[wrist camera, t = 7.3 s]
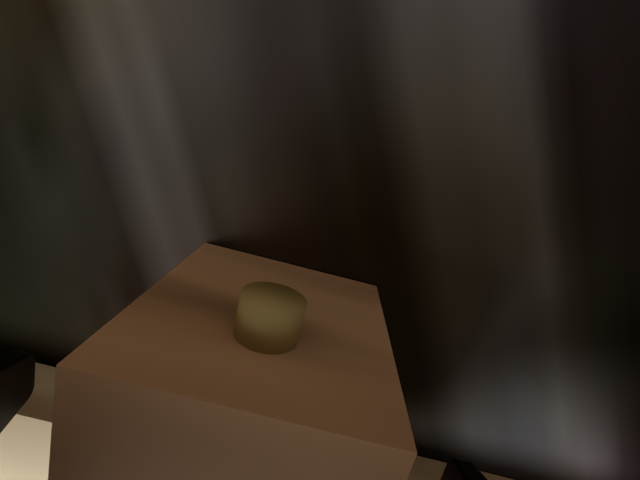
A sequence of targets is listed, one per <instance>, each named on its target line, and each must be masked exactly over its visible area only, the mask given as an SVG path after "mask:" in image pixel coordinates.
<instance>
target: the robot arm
mask: <svg viewBox="0 0 640 480" xmlns="http://www.w3.org/2000/svg"><path fill="white" fill-rule="evenodd" d="M35 365H36V358H35V356H34V355H33V354H31V353H28V352H24V351H20V350H9V351H5V352H2V353H0V433H1V432H2V431H3V430H4V429H5V427H6V426H7V425H8V424H9V422H10V421H11V420H12V419H13V418H14V416H15V415H16V414H17V413H18V411H19V410H20V409H21V408H22V407H23V405H24V404H25V403H26V402H27V400H28V399H29V398H30V396H31V394H32V392H33V389H34V383H35ZM440 480H488V479H487V478H486V477H485V476H484V475H483V474H482V473H481V472H480V471H479V470H478V468H477V467H476V466H475V465H474V464H473V463H472V462H470V461H468V460H464V459H460V458H456V457H452V458H450V459H449V461H448V462H447V465H446V467H445V469H444V472H443V474H442V476H441V479H440Z"/></svg>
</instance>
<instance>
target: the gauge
mask: <svg viewBox="0 0 640 480" xmlns="http://www.w3.org/2000/svg"><path fill="white" fill-rule="evenodd" d="M416 455H417V450H416V446H415V442H414V438H413V433H412V429H411V425H410V421H409V417H408V413H407V409H406V405H405V401H404V397H403V393H402V388H401V384H400V380H399V376H398V372H397V368H396V364H395V360H394V356H393V352H392V348H391V343H390V339H389V335H388V331H387V327H386V323H385V319H384V315H383V311H382V307H381V303H380V298H379V294H378V290H377V286H374V285H371V284H367V283H363V282H359V281H355V280H351V279H347V278H343V277H339V276H335V275H331V274H327V273H323V272H319V271H315V270H311V269H307V268H303V267H299V266H295V265H292V264H288V263H284V262H280V261H276V260H272V259H268V258H264V257H260V256H256V255H252V254H248V253H244V252H240V251H236V250H232V249H228V248H224V247H220V246H216V245H212V244H209V243H204V244H203V245H202V246H201V247H199V248H198V249H197V250H196V251H195V252H193V253H192V254H191V255H190V256H188V257H187V258H186V259H185V260H184V261H182V262H181V263H180V264H179V265H178V266H176V267H175V268H174V269H173V270H171V271H170V272H169V273H168V274H167V275H165V276H164V277H163V278H162V279H160V280H159V281H158V282H157V283H156V284H154V285H153V286H152V287H151V288H149V289H148V290H147V291H146V292H145V293H143V294H142V295H141V296H140V297H138V298H137V299H136V300H135V301H134V302H132V303H131V304H130V305H129V306H127V307H126V308H125V309H124V310H123V311H121V312H120V313H119V314H118V315H117V316H115V317H114V318H113V319H112V320H110V321H109V322H108V323H107V324H106V325H104V326H103V327H102V328H101V329H99V330H98V331H97V332H96V333H95V334H93V335H92V336H91V337H90V338H88V339H87V340H86V341H85V342H84V343H82V344H81V345H80V346H79V347H77V348H76V349H75V350H74V351H73V352H71V353H70V354H69V355H68V356H67V357H65V358H64V359H63V360H62V361H60V362H59V363H58V364H57V365H56V374H55V388H54V402H53V416H52V430H51V444H50V458H49V472H48V480H407V478H408V476H409V473H410V471H411V468H412V466H413V463H414V461H415V458H416Z"/></svg>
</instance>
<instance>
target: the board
mask: <svg viewBox="0 0 640 480" xmlns="http://www.w3.org/2000/svg"><path fill="white" fill-rule="evenodd" d="M55 374H56V367H52V366H48V365H44V364H40V363H36V365H35V383H34V389H33V392H32V394H31V396H30V398H29V399H28V400H27V402H26V403H25V404H24V405H23V407H22V408H21V409H20V410H19V411H18V413H17V414H16V415H15V416H14V418H13V419H12V420H11V421H10V422H9V424H8V425H7V426H6V427H5V429H4V430H3V431H2V432H1V433H0V480H48V472H49V458H50V444H51V430H52V416H53V402H54V388H55ZM446 465H447V463H445V462H441V461H437V460H433V459H429V458H424V457H420V456H416V458H415V461H414V463H413V466H412V468H411V471H410V473H409V476H408V478H407V480H440V479H441V476H442V474H443V472H444V469H445V467H446ZM480 472H481V473H482V474H483V475H484V476H485V477H486V478H487V479H488V480H514V479H510V478H506V477H502V476H498V475H494V474H490V473H486V472H482V471H480Z"/></svg>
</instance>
